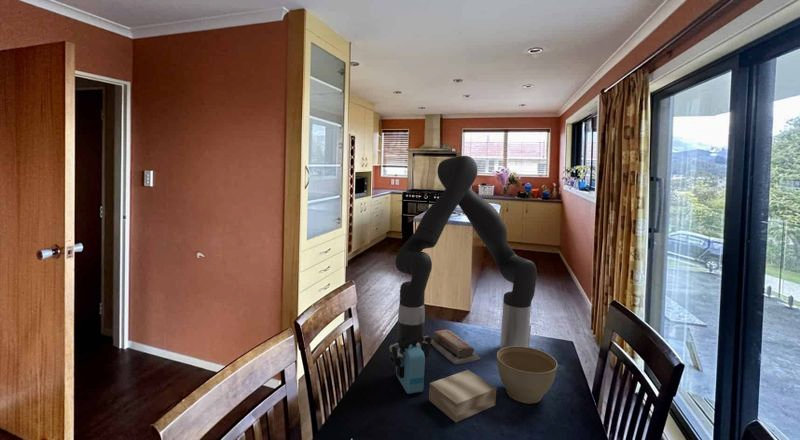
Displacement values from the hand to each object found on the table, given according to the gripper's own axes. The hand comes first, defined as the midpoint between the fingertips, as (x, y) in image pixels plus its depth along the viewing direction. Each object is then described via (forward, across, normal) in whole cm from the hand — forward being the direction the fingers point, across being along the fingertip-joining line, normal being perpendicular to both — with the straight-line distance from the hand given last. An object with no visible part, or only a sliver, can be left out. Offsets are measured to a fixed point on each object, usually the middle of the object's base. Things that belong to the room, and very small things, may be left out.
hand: (409, 374), depth 115 cm
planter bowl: (+3, -25, +21) cm, 33 cm away
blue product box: (+3, 0, 0) cm, 3 cm away
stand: (+3, -7, +15) cm, 17 cm away
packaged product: (+4, -26, -10) cm, 28 cm away
